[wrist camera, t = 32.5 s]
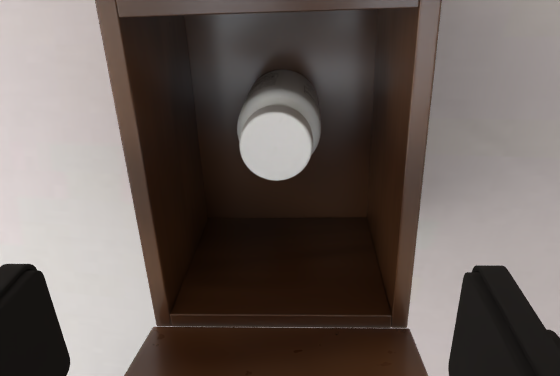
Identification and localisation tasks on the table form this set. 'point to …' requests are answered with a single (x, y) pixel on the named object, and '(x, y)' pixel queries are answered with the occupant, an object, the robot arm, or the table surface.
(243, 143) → the pill bottle
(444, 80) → the table surface
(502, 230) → the table surface
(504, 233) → the table surface
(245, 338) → the lid
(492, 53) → the table surface
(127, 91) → the chest
